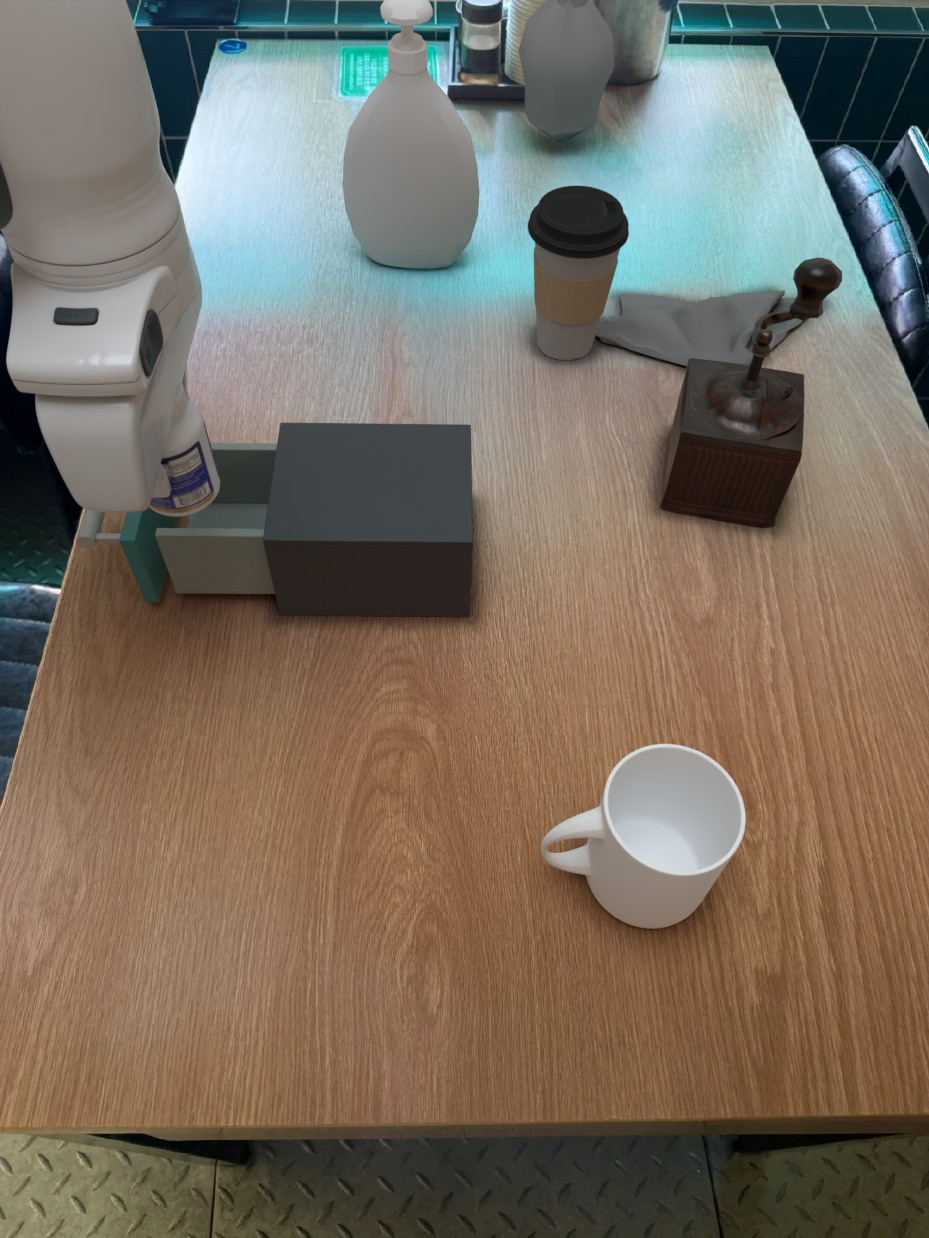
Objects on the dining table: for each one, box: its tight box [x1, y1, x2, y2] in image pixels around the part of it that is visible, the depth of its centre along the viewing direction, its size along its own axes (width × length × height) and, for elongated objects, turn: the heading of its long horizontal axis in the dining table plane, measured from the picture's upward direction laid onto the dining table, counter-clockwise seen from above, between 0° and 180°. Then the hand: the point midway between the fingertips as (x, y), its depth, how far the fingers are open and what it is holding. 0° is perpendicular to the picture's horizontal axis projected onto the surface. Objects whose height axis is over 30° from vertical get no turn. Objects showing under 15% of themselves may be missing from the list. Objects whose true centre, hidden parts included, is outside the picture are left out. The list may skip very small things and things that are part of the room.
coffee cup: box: [527, 185, 630, 361], centre depth 93 cm, size 9×9×15 cm
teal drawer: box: [75, 442, 277, 603], centre depth 77 cm, size 19×11×8 cm, turn 90°
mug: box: [539, 743, 747, 929], centre depth 61 cm, size 9×12×11 cm
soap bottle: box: [342, 0, 480, 270], centre depth 96 cm, size 14×8×27 cm, turn 86°
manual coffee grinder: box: [660, 257, 843, 528], centre depth 82 cm, size 16×11×18 cm
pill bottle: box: [149, 382, 220, 518], centre depth 61 cm, size 5×5×9 cm
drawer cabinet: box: [263, 422, 474, 618], centre depth 78 cm, size 16×13×10 cm
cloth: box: [595, 289, 804, 367], centre depth 99 cm, size 26×14×2 cm, turn 93°
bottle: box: [518, 0, 615, 144], centre depth 110 cm, size 11×11×30 cm
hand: (168, 452), depth 62 cm, fingers closed on pill bottle, 5 cm apart
